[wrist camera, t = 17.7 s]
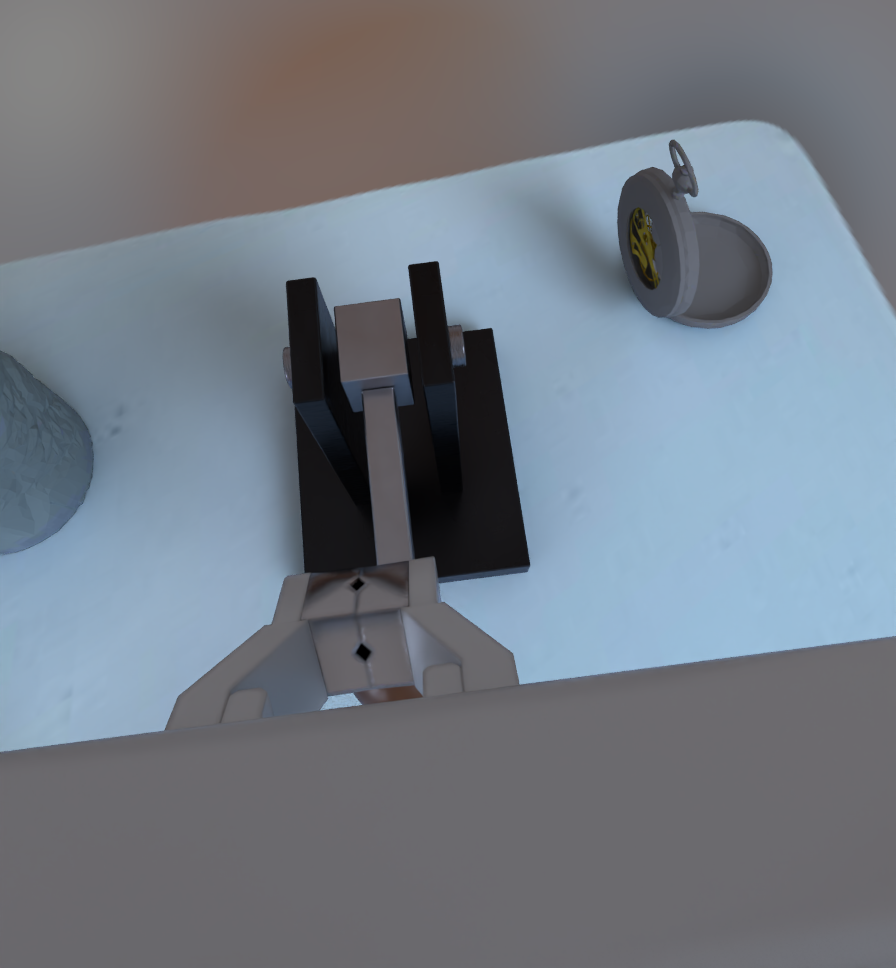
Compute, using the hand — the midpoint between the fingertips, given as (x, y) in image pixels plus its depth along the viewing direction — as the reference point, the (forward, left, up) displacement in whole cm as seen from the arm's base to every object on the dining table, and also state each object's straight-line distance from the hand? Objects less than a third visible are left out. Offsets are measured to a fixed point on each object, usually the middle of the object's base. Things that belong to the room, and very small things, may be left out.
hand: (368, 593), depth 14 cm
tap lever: (-3, +2, -9) cm, 10 cm away
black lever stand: (-8, +5, -18) cm, 20 cm away
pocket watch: (-6, +22, -18) cm, 29 cm away
